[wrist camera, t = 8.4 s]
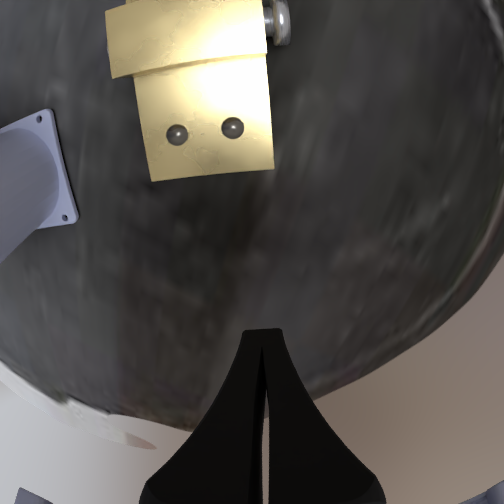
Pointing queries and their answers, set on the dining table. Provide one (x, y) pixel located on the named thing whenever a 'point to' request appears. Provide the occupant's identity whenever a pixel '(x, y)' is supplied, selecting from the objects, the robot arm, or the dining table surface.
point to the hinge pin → (274, 22)
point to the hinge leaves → (196, 83)
